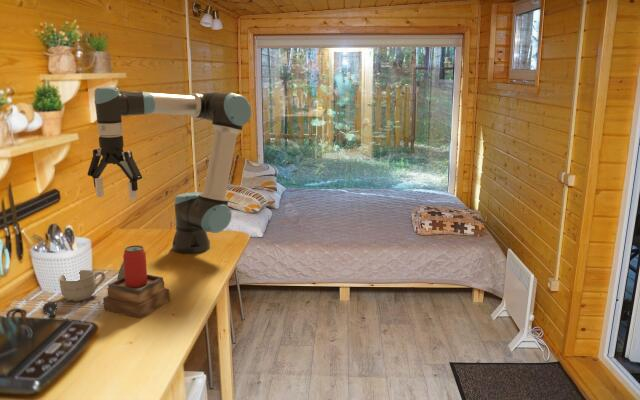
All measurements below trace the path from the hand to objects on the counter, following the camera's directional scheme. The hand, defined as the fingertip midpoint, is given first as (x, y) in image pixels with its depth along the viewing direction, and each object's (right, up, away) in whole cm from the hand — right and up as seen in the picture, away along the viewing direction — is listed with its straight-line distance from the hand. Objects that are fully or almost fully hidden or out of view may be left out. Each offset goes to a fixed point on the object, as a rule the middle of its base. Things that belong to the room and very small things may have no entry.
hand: (116, 198), depth 187 cm
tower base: (+11, -34, -11) cm, 37 cm away
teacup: (-8, -32, -6) cm, 34 cm away
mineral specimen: (+2, -29, +8) cm, 30 cm away
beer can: (+11, -27, -13) cm, 32 cm away
